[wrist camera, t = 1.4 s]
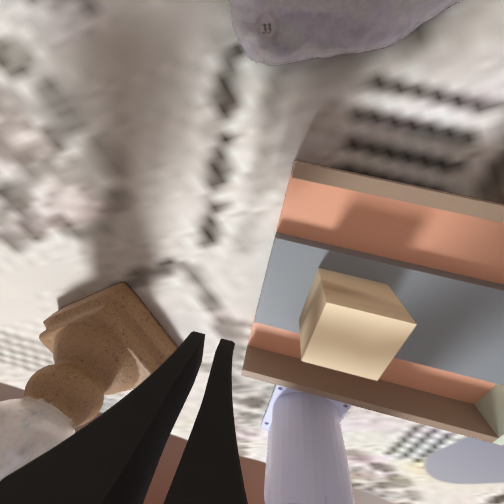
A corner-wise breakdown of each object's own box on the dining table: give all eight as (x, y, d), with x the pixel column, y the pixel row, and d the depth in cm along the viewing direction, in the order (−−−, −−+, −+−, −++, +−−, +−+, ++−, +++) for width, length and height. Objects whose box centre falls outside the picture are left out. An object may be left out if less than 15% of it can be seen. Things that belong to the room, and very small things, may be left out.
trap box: (475, 408, 21) (502, 445, 19) (246, 348, 23) (241, 375, 20) (666, 238, 13) (761, 260, 11) (294, 159, 14) (295, 162, 12)
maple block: (359, 334, 18) (377, 380, 14) (298, 319, 18) (301, 361, 14) (387, 284, 16) (416, 324, 12) (318, 267, 16) (326, 302, 12)
